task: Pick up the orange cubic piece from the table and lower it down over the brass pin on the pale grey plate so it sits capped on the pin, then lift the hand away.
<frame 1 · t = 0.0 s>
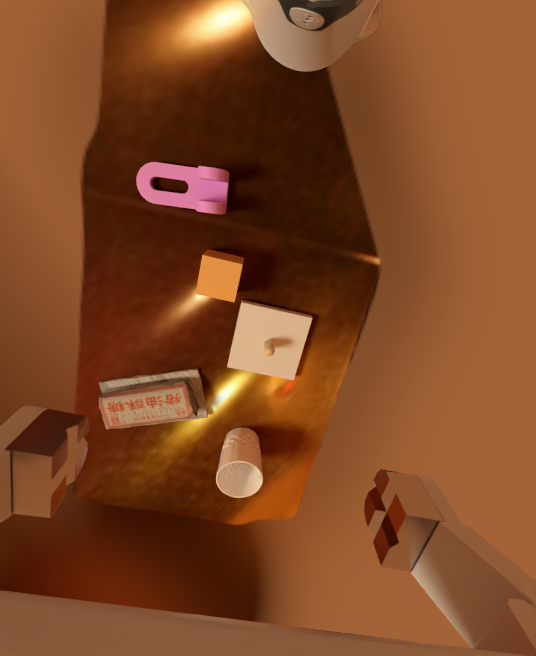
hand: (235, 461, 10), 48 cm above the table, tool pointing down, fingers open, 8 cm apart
bracket: (184, 187, 52), on the table
pin plate: (268, 339, 60), on the table
packaged product: (156, 395, 64), on the table
orange cubic piece: (222, 271, 56), on the table
white cup: (242, 440, 68), on the table
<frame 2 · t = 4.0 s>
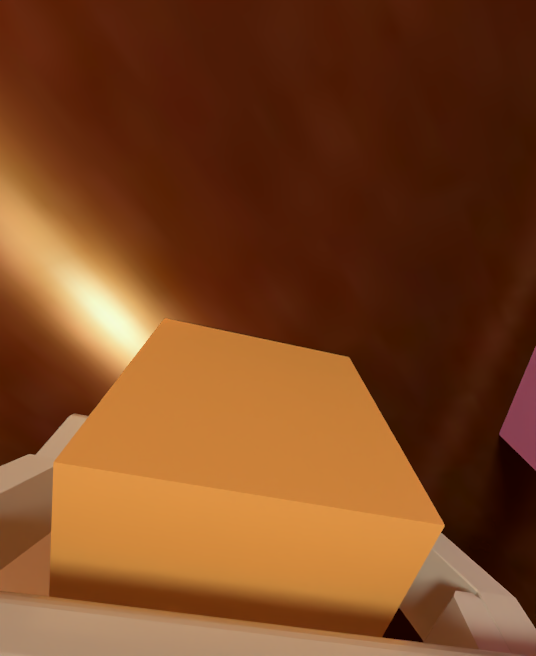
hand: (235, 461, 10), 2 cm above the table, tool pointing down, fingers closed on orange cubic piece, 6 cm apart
orange cubic piece: (240, 416, 12), on the table, touching gripper
when the fingers open (5 cm above the table, at t = 10.2 s): orange cubic piece stays where it is, resting on pin plate.
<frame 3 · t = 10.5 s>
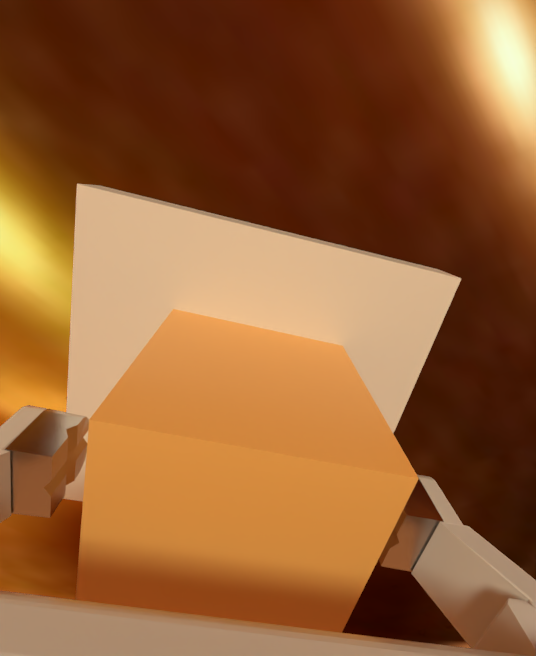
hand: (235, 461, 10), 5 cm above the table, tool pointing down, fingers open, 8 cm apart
pin plate: (241, 380, 14), on the table
orange cubic piece: (241, 400, 13), point 1 cm above the table, touching pin plate
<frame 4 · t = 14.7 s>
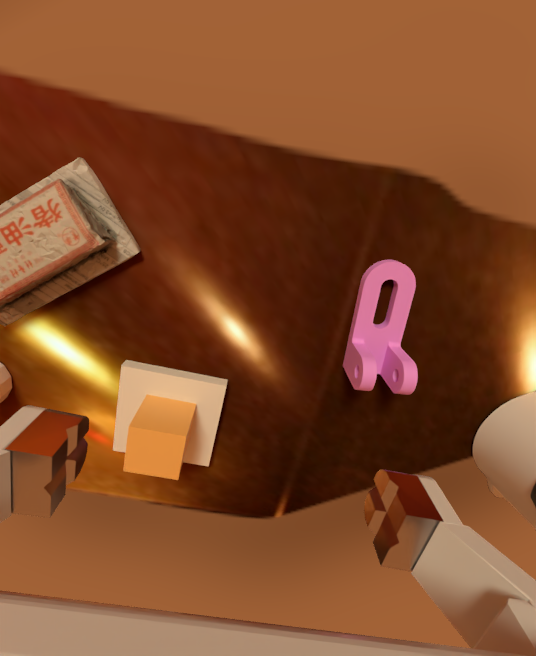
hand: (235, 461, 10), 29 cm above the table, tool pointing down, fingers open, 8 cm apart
bracket: (376, 316, 40), on the table
pin plate: (170, 412, 43), on the table
packaged product: (46, 246, 36), on the table
orange cubic piece: (168, 419, 42), point 1 cm above the table, touching pin plate
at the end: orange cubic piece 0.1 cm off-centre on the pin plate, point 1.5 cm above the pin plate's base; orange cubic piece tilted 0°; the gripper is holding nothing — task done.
